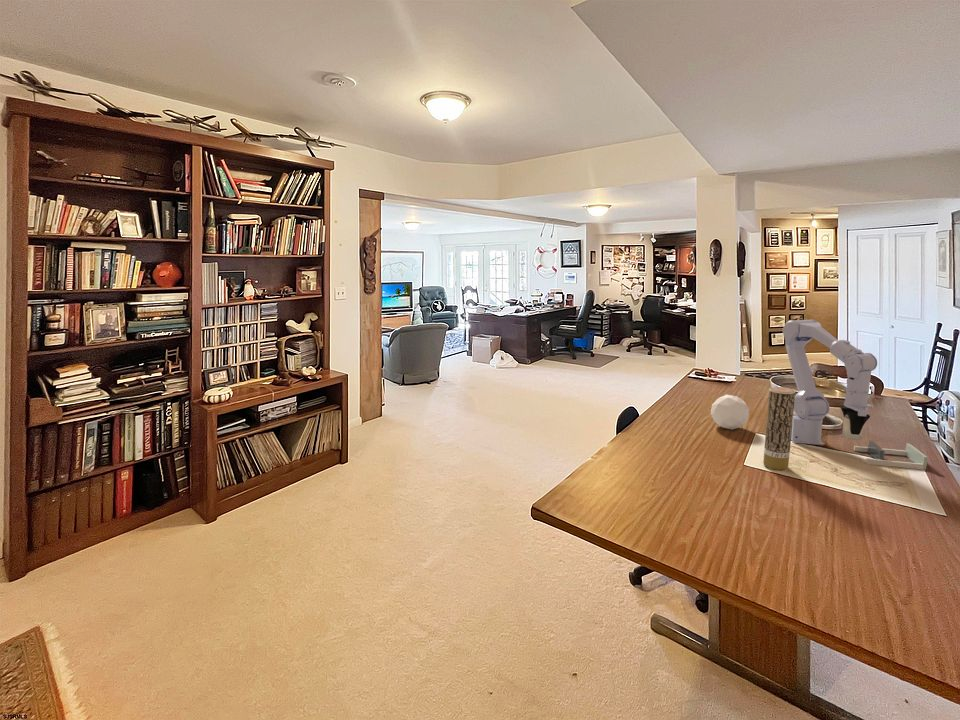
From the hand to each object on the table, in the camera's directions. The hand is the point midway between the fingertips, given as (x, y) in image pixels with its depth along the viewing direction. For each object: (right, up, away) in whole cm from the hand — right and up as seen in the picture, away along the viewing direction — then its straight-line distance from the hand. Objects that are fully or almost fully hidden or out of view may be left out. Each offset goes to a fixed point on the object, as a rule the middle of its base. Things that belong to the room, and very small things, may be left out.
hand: (852, 431), depth 158 cm
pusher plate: (+8, -8, 0) cm, 11 cm away
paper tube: (-28, -11, -5) cm, 30 cm away
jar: (0, -2, 0) cm, 2 cm away
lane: (+10, -9, -1) cm, 14 cm away
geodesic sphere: (-23, -4, +34) cm, 41 cm away
